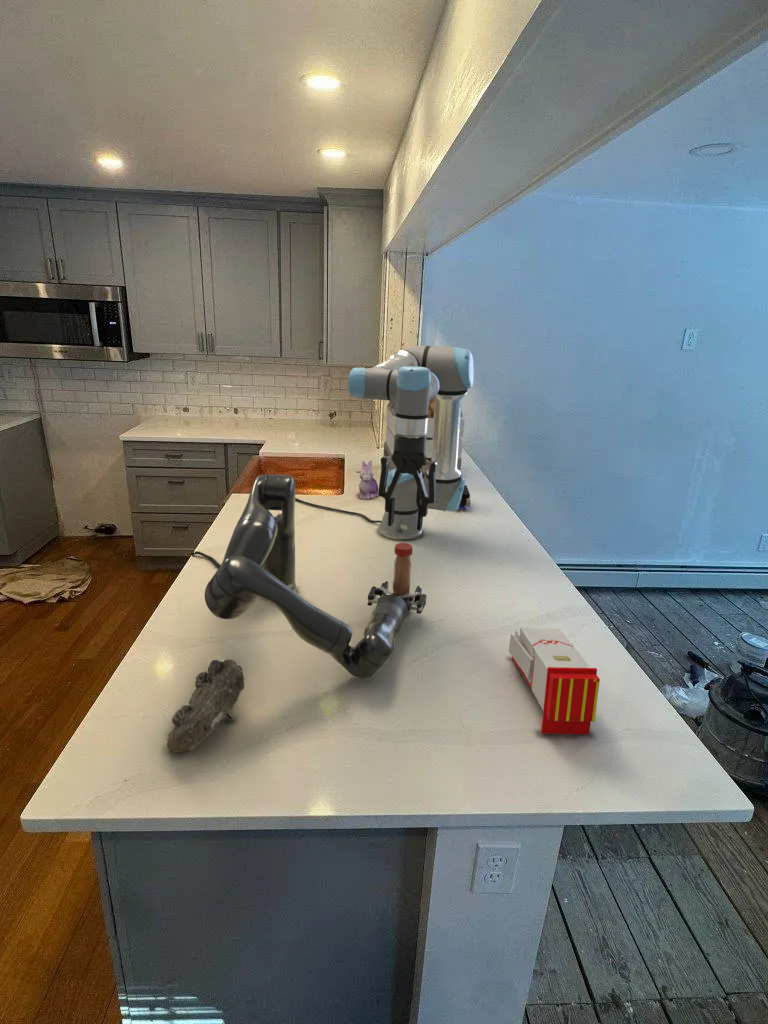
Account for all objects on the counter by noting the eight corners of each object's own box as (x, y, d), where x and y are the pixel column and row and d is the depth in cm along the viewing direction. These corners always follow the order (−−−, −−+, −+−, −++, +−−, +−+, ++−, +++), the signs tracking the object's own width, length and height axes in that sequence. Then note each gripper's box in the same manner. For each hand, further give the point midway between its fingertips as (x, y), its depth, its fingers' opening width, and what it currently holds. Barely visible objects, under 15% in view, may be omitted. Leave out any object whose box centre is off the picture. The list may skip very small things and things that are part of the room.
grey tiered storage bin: (382, 463, 289) (386, 382, 275) (445, 464, 293) (451, 384, 279) (390, 482, 257) (394, 392, 243) (460, 483, 261) (468, 394, 247)
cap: (413, 551, 145) (413, 543, 144) (411, 558, 141) (411, 550, 140) (396, 549, 146) (396, 541, 145) (393, 556, 141) (393, 548, 141)
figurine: (363, 500, 232) (364, 465, 227) (352, 493, 240) (353, 459, 235) (383, 498, 236) (385, 463, 231) (372, 491, 244) (373, 457, 239)
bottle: (409, 608, 151) (413, 545, 144) (407, 616, 146) (411, 552, 140) (392, 606, 151) (396, 543, 145) (390, 614, 147) (393, 550, 141)
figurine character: (470, 515, 225) (465, 499, 238) (472, 498, 221) (467, 483, 235) (453, 515, 224) (449, 499, 238) (455, 497, 221) (451, 482, 234)
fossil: (192, 660, 117) (244, 628, 112) (224, 691, 120) (276, 661, 115) (142, 746, 98) (202, 712, 93) (182, 779, 101) (242, 748, 96)
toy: (555, 612, 132) (609, 675, 103) (550, 665, 135) (600, 741, 106) (504, 611, 132) (543, 673, 102) (499, 664, 134) (536, 740, 105)
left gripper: (358, 625, 136) (376, 595, 151) (416, 635, 133) (428, 603, 148) (359, 598, 134) (377, 569, 149) (418, 607, 131) (430, 577, 146)
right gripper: (454, 435, 134) (446, 526, 142) (375, 427, 139) (371, 516, 146) (449, 442, 127) (441, 537, 135) (365, 433, 132) (362, 525, 140)
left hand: (402, 586), depth 148 cm, fingers open, 8 cm apart
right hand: (405, 526), depth 141 cm, fingers open, 7 cm apart
